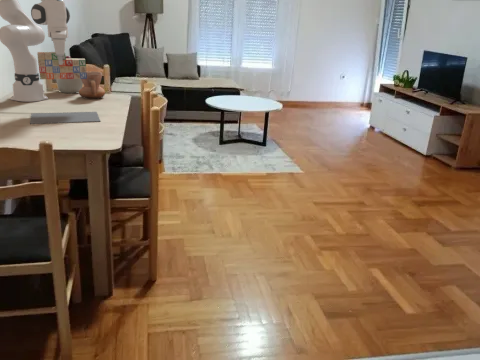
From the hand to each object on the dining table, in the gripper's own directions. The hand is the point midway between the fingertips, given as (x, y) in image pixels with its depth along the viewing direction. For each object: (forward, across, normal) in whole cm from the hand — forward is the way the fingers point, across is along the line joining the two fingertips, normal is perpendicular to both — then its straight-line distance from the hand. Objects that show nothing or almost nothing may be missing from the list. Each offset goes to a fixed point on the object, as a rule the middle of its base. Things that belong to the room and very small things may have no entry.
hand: (60, 63), depth 221 cm
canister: (+23, -53, +5) cm, 59 cm away
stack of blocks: (+7, 0, +1) cm, 7 cm away
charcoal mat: (+23, +15, 0) cm, 28 cm away
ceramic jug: (+24, -34, +16) cm, 44 cm away
